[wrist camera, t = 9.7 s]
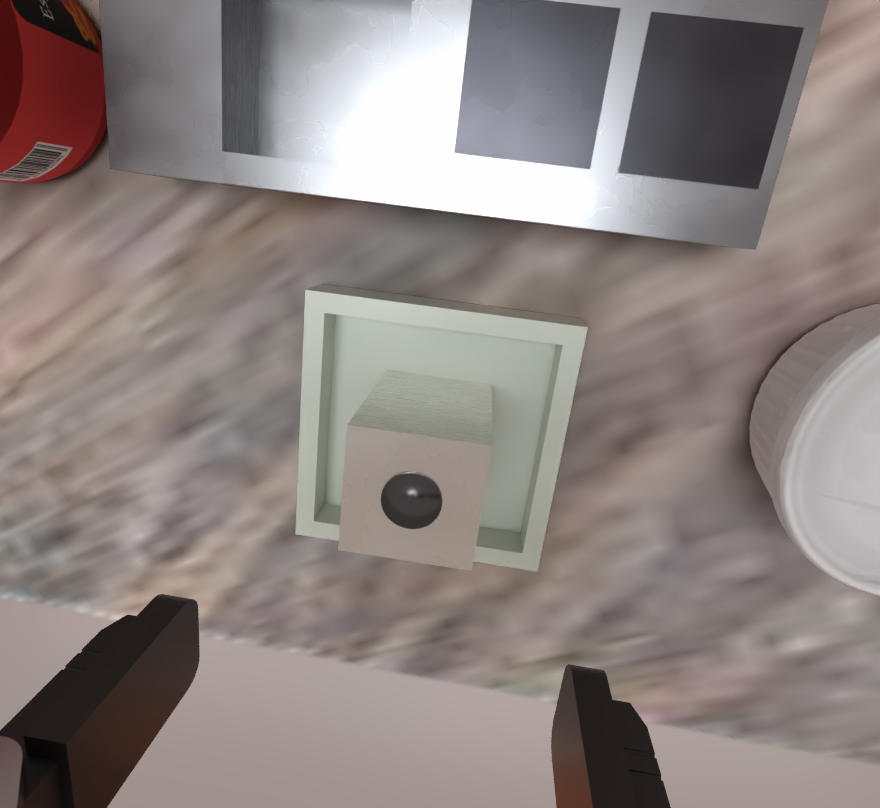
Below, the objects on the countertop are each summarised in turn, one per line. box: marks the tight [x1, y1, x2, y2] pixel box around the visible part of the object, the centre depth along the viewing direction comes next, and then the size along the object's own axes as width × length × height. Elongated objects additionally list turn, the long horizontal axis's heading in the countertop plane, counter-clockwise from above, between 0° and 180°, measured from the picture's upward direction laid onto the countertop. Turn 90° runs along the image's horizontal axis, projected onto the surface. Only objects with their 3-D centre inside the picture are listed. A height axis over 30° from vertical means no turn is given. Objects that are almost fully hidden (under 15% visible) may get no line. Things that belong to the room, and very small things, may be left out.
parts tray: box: [296, 284, 588, 571], centre depth 24 cm, size 11×11×2 cm
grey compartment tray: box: [99, 0, 828, 250], centre depth 19 cm, size 22×8×4 cm, turn 83°
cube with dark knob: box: [338, 370, 492, 571], centre depth 21 cm, size 5×5×7 cm
